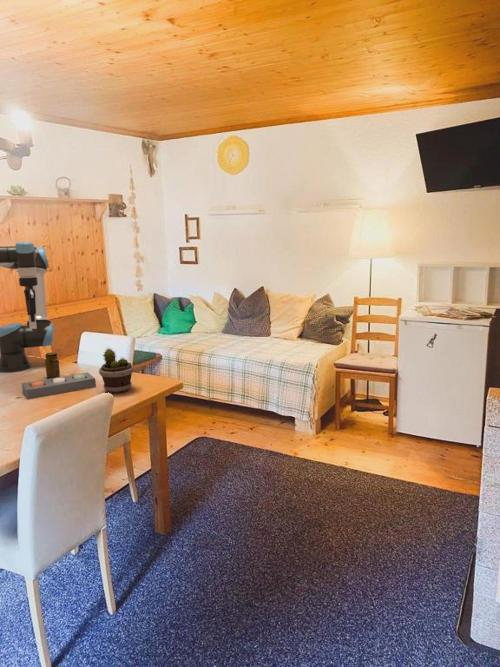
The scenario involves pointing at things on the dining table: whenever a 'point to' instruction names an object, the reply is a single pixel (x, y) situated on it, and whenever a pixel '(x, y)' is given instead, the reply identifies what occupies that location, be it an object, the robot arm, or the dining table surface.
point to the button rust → (37, 383)
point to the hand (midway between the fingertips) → (33, 328)
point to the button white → (58, 380)
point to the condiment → (52, 366)
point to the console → (58, 386)
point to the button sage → (79, 376)
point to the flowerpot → (116, 373)
